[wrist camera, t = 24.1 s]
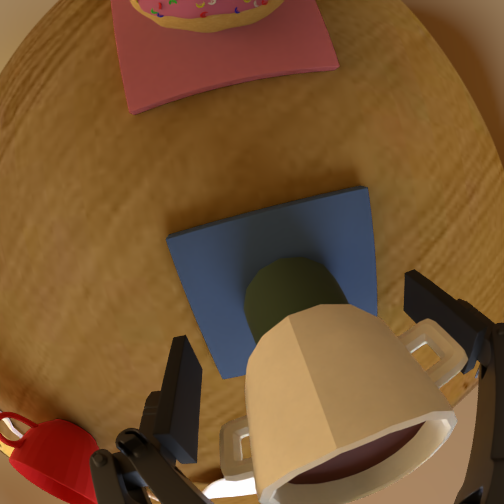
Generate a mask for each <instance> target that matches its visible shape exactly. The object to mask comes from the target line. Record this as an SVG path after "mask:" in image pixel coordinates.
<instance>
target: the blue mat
mask: <svg viewBox="0 0 504 504" xmlns="http://www.w3.org/2000/svg"><path fill="white" fill-rule="evenodd" d="M166 242H167V245H168V248H169V251H170V253H171V256H172V259H173V262H174V264H175V267H176V270H177V273H178V275H179V278H180V280H181V283H182V286H183V288H184V291H185V293H186V296H187V298H188V301H189V303H190V306H191V308H192V311H193V313H194V316H195V318H196V321H197V323H198V325H199V328H200V330H201V332H202V335H203V337H204V339H205V342H206V344H207V346H208V348H209V351H210V353H211V355H212V357H213V359H214V362H215V364H216V366H217V368H218V370H219V372H220V374H221V377H222V379H227V378H232V377H237V376H242V375H246V368H247V364H248V359H249V357H250V356H251V354H252V352H253V351H254V349H255V347H256V343H255V341H254V338H253V336H252V333H251V331H250V328H249V326H248V323H247V320H246V316H245V313H244V310H243V309H244V302H245V295H246V289H247V287H248V286H249V284H250V283H251V281H252V280H253V279H254V277H255V276H256V274H257V273H258V271H259V270H260V269H262V268H264V267H266V266H267V265H269V264H271V263H273V262H274V261H276V260H278V259H280V258H293V257H305V258H308V259H310V260H313V261H316V262H318V263H321V264H323V265H324V266H325V267H326V268H327V269H328V270H329V272H330V273H331V274H332V275H333V276H334V277H335V279H336V280H337V282H338V284H339V285H340V287H341V289H342V291H343V292H344V294H345V296H346V299H347V301H348V303H349V304H351V305H353V306H355V307H357V308H359V309H362V310H364V311H366V312H368V313H370V314H372V315H374V316H376V317H377V280H376V261H375V247H374V235H373V225H372V216H371V208H370V200H369V193H368V187H364V186H356V187H352V188H347V189H343V190H338V191H334V192H329V193H325V194H321V195H316V196H312V197H308V198H304V199H299V200H295V201H291V202H287V203H283V204H279V205H275V206H271V207H267V208H263V209H259V210H256V211H252V212H248V213H244V214H240V215H237V216H233V217H229V218H225V219H222V220H218V221H215V222H211V223H207V224H204V225H200V226H197V227H193V228H190V229H186V230H183V231H179V232H176V233H173V234H169V235H168V237H167V238H166Z"/></svg>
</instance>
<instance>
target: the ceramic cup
mask: <svg viewBox="0 0 504 504" xmlns="http://www.w3.org/2000/svg"><path fill="white" fill-rule="evenodd" d="M3 418H14V419H16V420H19V421H21V422H23V423H25V424H27V425H28V426H30V427H31V429H29V430H28V431H27V432H26V433H25V434H24V435H23V437H22V438H21V439H19V440H18V441H10V440H8V439H6V438H5V437H4V436H3V435H2V434H1V433H0V440H1V441H2V442H3V443H4V444H6V445H8V446H11V447H14V448H15V449H14V450H13V452H12V454H11V456H10V458H9V462H10V463H11V465H12V466H13V467H14V468H15V469H16V470H17V471H18V472H19V473H20V474H21V475H23V476H24V477H25V478H26V479H28V480H29V481H30V482H32V483H33V484H35V485H36V486H38V487H39V488H41V489H42V490H44V491H46V492H48V493H49V494H51V495H53V496H55V497H57V498H59V499H61V500H63V501H65V502H67V503H70V504H98V503H97V499H96V495H95V490H94V486H93V481H92V476H91V471H90V465H89V459H90V457H91V455H92V454H93V453H94V452H95V451H97V450H99V447H98V446H97V443H96V441H95V439H94V438H93V437H92V436H91V435H90V434H89V433H88V432H86V431H85V430H83V429H82V428H80V427H79V426H77V425H75V424H73V423H71V422H68V421H66V420H62V419H55V420H52V421H47V422H43V423H40V424H36V423H34V422H32V421H31V420H29V419H27V418H25V417H23V416H21V415H18V414H16V413H12V412H2V413H0V420H1V419H3Z"/></svg>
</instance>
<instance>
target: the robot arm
mask: <svg viewBox="0 0 504 504" xmlns="http://www.w3.org/2000/svg"><path fill="white" fill-rule="evenodd" d="M404 311H405V312H406V313H407V314H408V315H409V316H410V317H411V318H412V319H413V320H414V322H415V323H416V324H417V323H418V322H420V321H423V320H425V319H427V318H428V319H431V320H433V321H435V322H436V323H437V324H438V325H440V326H441V327H442V328H443V329H444V330H445V331H446V332H447V333H448V334H449V335H450V336H451V337H452V338H453V339H454V340H455V341H456V342H457V343H458V344H459V345H460V346H461V347H462V348H463V349H464V350H465V353H466V355H467V357H468V361H467V363H466V364H465V366H464V367H463V369H462V370H461V372H462V373H463V374H466V373H467V372H469V371H470V370H471V369H473V368H474V366H475V363H476V361H477V360H478V361H479V362H480V365H479V368H478V370H477V373H476V375H475V378H477V376H478V374H479V387H478V404H477V415H476V424H475V431H474V438H473V444H472V450H471V455H470V460H469V464H468V469H467V473H466V477H465V481H464V483H463V486H462V487H461V489H460V491H459V492H458V495H457V497H456V499H455V502H454V504H504V323H497V324H495V323H493V322H492V321H491V320H490V319H488V318H487V317H486V316H485V315H483V314H482V313H481V312H480V311H478V310H477V309H476V308H475V307H473V306H472V305H471V304H470V303H468V302H467V301H464V300H461V299H458V300H455V299H454V298H453V297H451V296H450V295H449V294H447V293H446V292H445V291H443V290H442V289H441V288H439V287H438V286H437V285H435V284H434V283H433V282H431V281H430V280H429V279H427V278H426V277H424V276H423V275H422V274H420V273H419V272H418V271H416V270H415V269H414V270H411V271H409V272H406V273H405V288H404ZM202 370H203V369H202V367H201V365H200V363H199V361H198V359H197V357H196V355H195V353H194V351H193V349H192V347H191V345H190V343H189V341H188V339H187V336H186V335H184V336H179V337H174V338H173V341H172V345H171V349H170V353H169V358H168V362H167V366H166V370H165V375H164V379H163V384H162V388H161V391H154V392H151V393H150V395H149V396H148V398H147V399H146V403H145V407H144V408H145V409H144V411H143V416H142V419H141V423H140V427H139V430H138V429H135V428H128V429H125V430H123V431H122V432H121V433H120V434H119V435H118V436H117V438H116V447H117V448H118V449H119V450H120V451H121V452H118V453H114V454H111V453H110V452H109V451H108V450H105V449H99V450H97V451H95V452H94V453H93V454H92V455H91V457H90V459H89V465H90V471H91V476H92V481H93V486H94V490H95V495H96V499H97V503H98V504H152V503H151V500H150V498H149V495H148V493H147V490H146V488H145V486H148V487H149V489H150V490H151V491H152V492H153V494H154V495H155V496H156V498H157V499H158V500H159V501H160V502H161V504H214V503H213V502H212V501H211V500H209V499H208V498H207V497H206V496H205V495H204V494H203V493H202V492H201V491H200V490H199V489H198V488H197V487H196V486H195V485H194V484H193V483H192V482H191V481H190V480H189V479H188V478H187V477H186V476H185V475H184V474H183V473H182V472H181V471H180V470H179V469H178V468H177V467H176V466H175V465H176V459H177V460H178V461H179V462H180V463H181V464H188V463H197V450H198V429H199V412H200V396H201V382H202Z"/></svg>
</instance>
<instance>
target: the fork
mask: <svg viewBox="0 0 504 504" xmlns="http://www.w3.org/2000/svg"><path fill="white" fill-rule="evenodd" d="M0 413H2V412H1V411H0ZM2 420H3V421H4V422H5V423H6V424H7V426H8V427H9V428H10V430H11V431H12V432H14V433H15V434H16V435H17V436H19V437H20V438H22V437H23V435H22V434H21V433H19V432H18V431H17V430H16V429H15V428H14V427H13V425H12V423H11V421H10V419H9V418H3V419H2Z"/></svg>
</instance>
